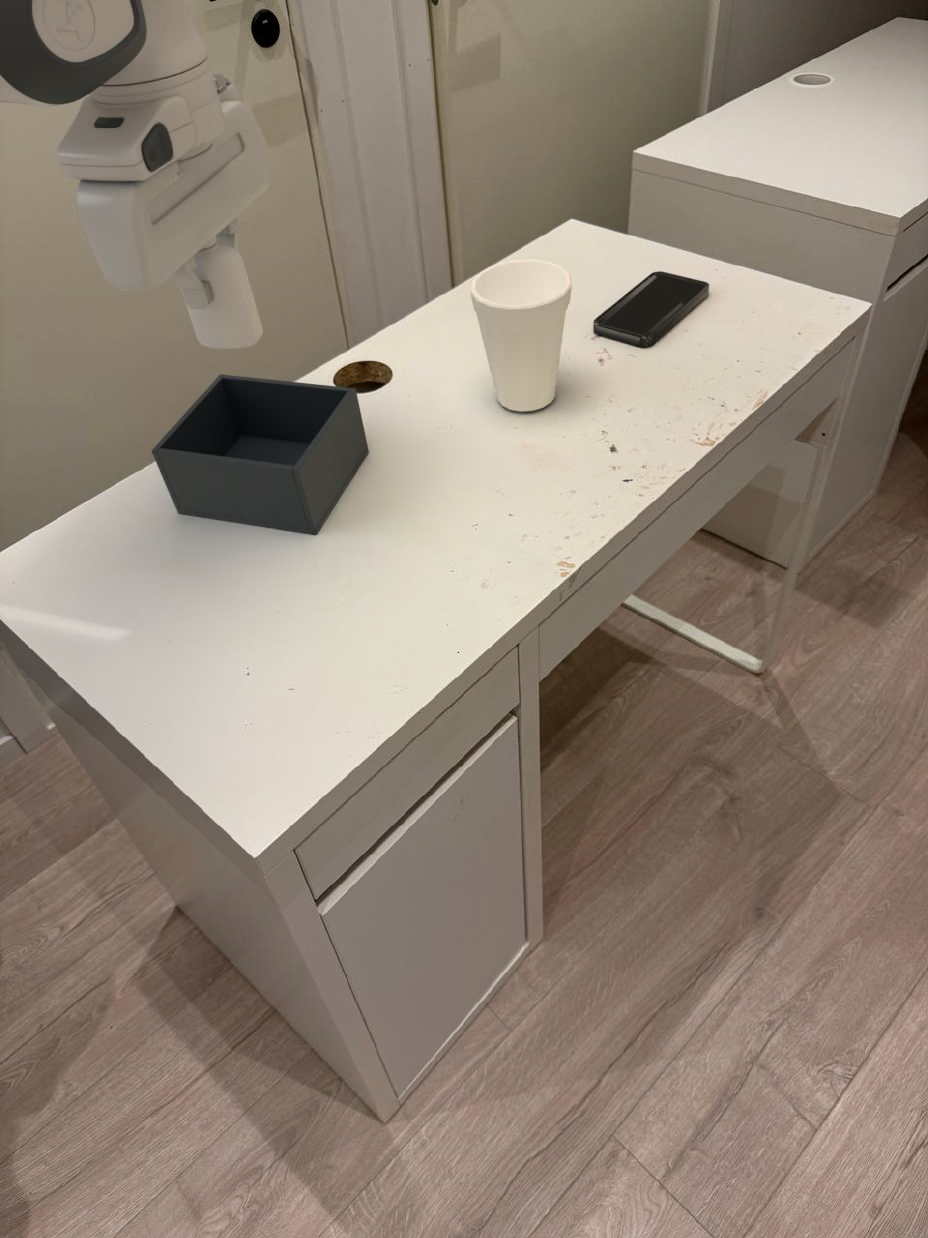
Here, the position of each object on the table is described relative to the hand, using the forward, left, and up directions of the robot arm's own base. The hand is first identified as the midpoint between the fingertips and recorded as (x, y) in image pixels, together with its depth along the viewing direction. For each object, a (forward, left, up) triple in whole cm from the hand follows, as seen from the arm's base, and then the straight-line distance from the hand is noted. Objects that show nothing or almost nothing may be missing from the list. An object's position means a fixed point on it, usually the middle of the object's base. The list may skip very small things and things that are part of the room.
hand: (215, 291), depth 75 cm
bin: (0, 0, -20) cm, 20 cm away
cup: (+21, +19, -21) cm, 35 cm away
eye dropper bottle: (0, 0, -5) cm, 5 cm away
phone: (+31, +39, -20) cm, 54 cm away
